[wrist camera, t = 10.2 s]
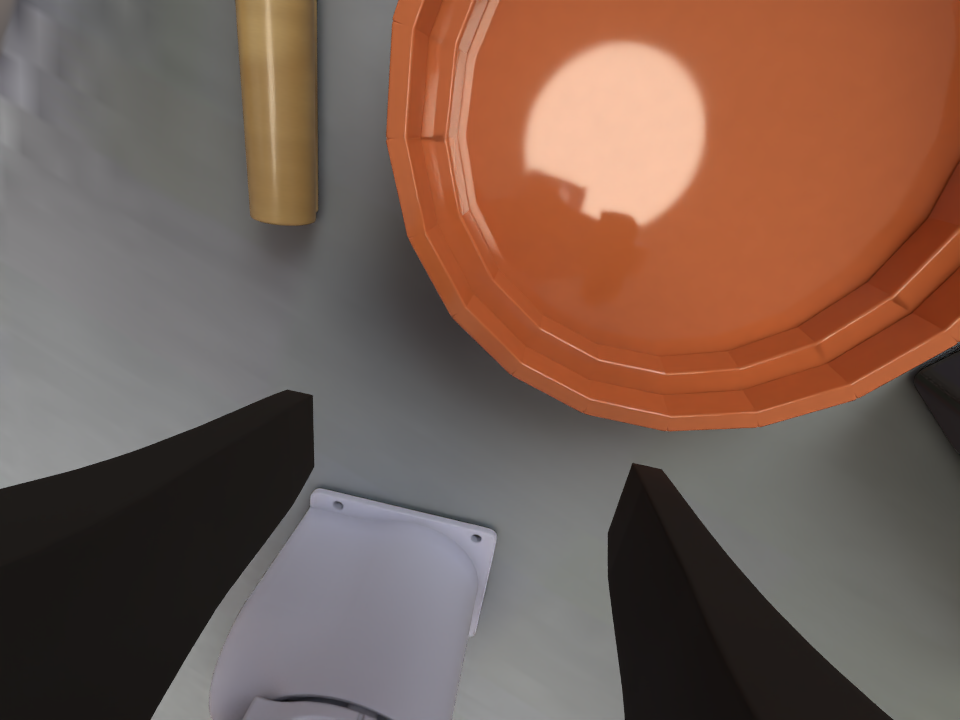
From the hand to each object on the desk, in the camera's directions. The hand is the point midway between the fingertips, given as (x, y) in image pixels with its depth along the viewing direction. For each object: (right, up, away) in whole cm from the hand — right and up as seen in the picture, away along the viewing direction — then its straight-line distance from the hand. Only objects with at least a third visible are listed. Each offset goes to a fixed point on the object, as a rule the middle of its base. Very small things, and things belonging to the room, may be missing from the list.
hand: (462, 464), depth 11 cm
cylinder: (-6, +12, +5) cm, 15 cm away
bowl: (+7, +9, +4) cm, 13 cm away
